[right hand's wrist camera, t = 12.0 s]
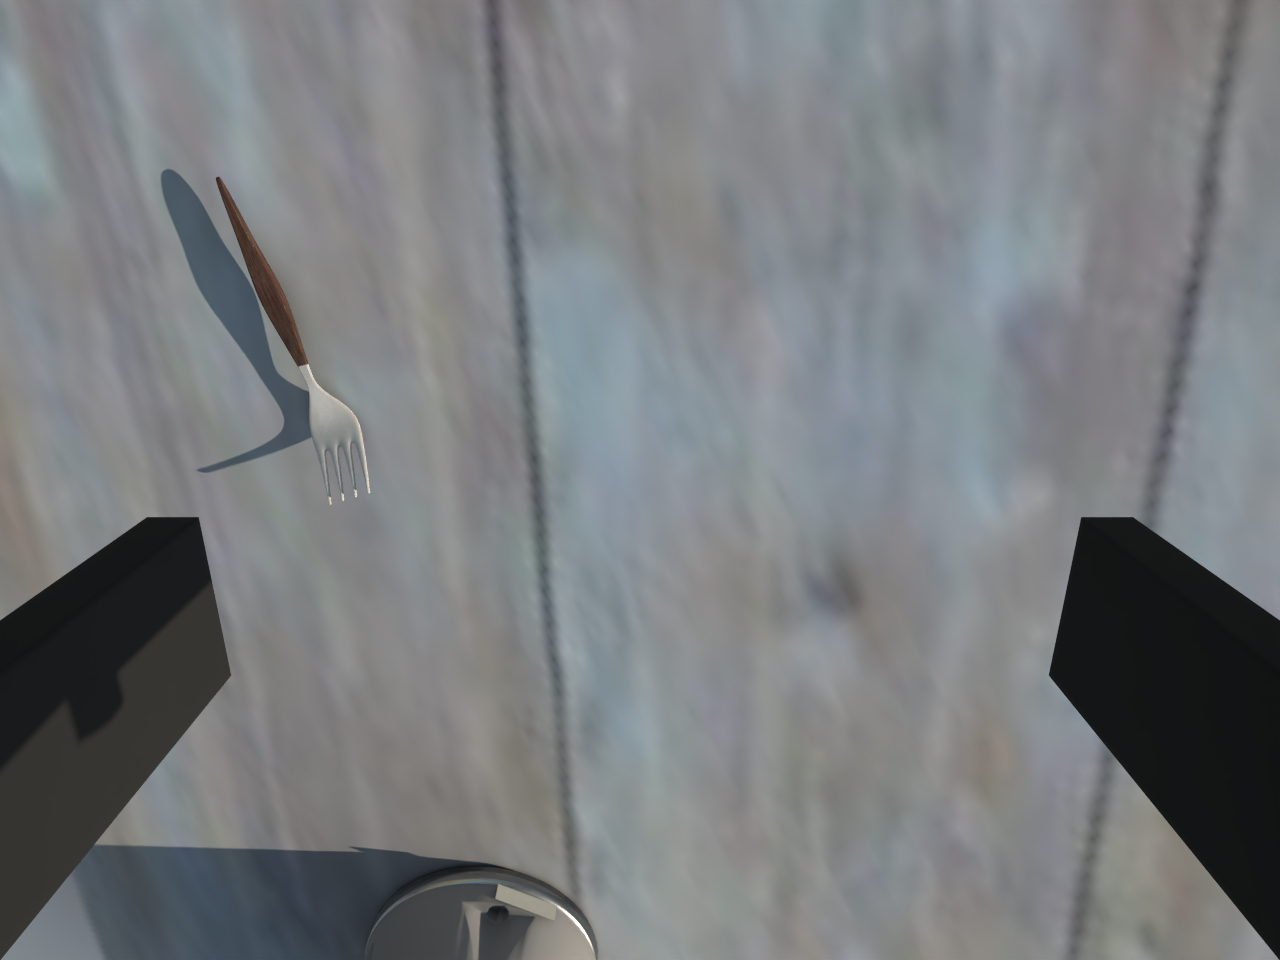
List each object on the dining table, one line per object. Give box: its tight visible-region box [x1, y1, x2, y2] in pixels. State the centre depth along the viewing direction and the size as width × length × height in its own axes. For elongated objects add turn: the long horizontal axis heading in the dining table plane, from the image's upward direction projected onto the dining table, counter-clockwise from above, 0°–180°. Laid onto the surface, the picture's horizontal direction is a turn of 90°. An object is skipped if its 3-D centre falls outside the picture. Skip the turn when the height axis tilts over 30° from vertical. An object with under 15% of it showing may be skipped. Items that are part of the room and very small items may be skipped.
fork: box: [216, 177, 370, 505], centre depth 40 cm, size 3×16×2 cm, turn 17°
